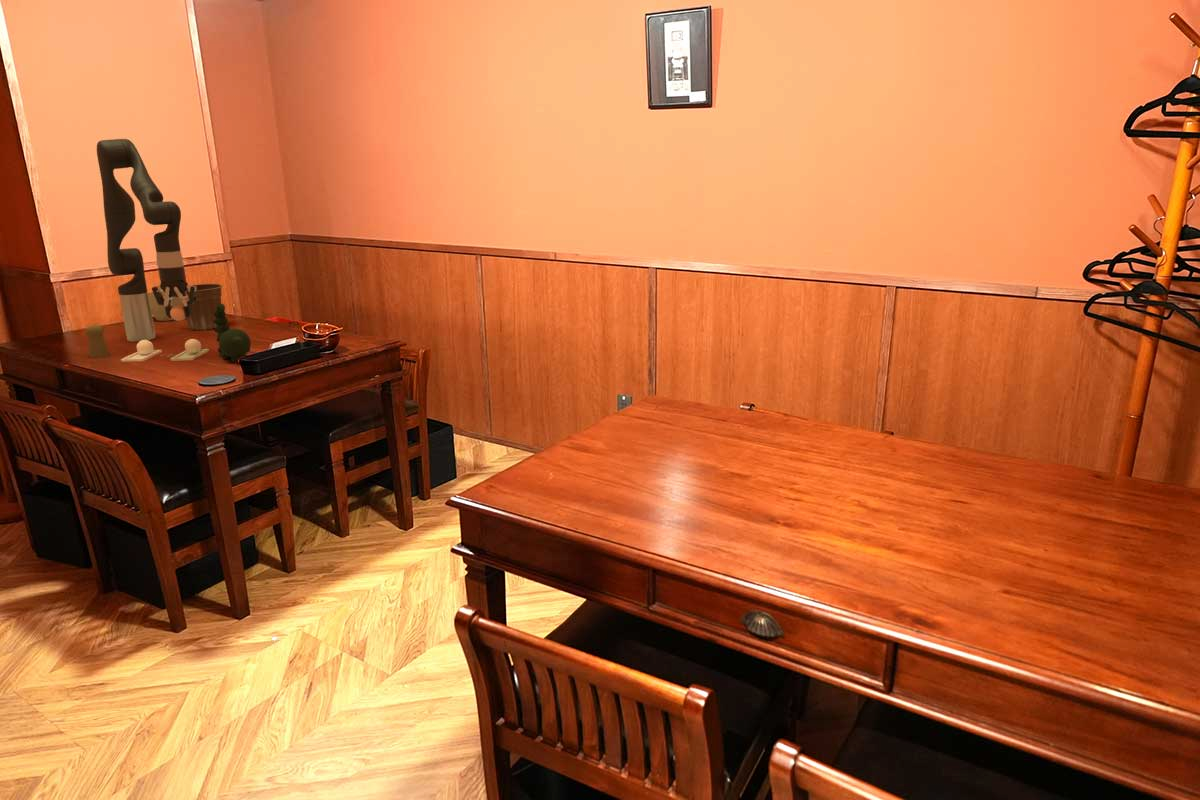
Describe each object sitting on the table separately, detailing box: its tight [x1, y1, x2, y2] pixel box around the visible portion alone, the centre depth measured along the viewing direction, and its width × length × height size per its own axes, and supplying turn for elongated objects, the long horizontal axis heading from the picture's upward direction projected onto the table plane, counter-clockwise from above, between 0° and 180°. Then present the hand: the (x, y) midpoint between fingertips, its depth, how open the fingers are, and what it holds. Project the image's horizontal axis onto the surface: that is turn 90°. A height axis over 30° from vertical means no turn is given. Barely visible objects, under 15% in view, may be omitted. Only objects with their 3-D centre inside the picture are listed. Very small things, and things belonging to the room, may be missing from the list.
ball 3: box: [184, 338, 202, 354], centre depth 275 cm, size 5×5×5 cm
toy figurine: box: [213, 303, 252, 364], centre depth 267 cm, size 9×19×25 cm
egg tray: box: [120, 349, 162, 363], centre depth 272 cm, size 13×7×1 cm, turn 2°
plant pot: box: [182, 283, 223, 331], centre depth 317 cm, size 16×16×16 cm
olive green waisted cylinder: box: [85, 324, 111, 359], centre depth 272 cm, size 6×6×11 cm
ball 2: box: [170, 306, 187, 322], centre depth 265 cm, size 5×5×5 cm
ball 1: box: [136, 340, 154, 355], centre depth 274 cm, size 5×5×5 cm
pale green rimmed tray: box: [169, 348, 210, 362], centre depth 272 cm, size 13×7×1 cm, turn 2°
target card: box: [159, 353, 175, 358], centre depth 272 cm, size 8×6×1 cm
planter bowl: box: [148, 290, 183, 322], centre depth 336 cm, size 16×16×11 cm
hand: (179, 317), depth 265 cm, fingers closed on ball 2, 5 cm apart
